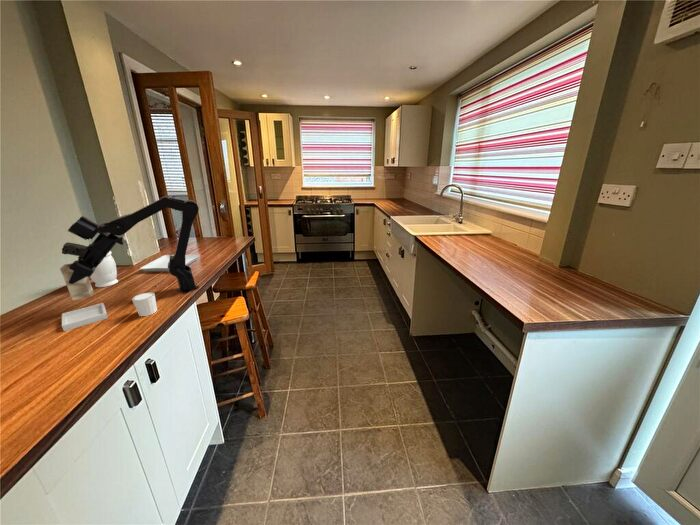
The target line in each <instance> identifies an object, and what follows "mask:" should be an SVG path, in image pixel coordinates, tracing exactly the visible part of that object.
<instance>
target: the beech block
mask: <svg viewBox="0 0 700 525" xmlns="http://www.w3.org/2000/svg"><path fill="white" fill-rule="evenodd" d="M72 263H73V262H72ZM72 263H65V264H63V265H62V266H61V267H60V268H59V269H60V272H61V274H62V276H63V280H64V282H65V285H66V288H67V289H68V292H69V295H70V297H71V299H72V301H75V300H82V299H86V298H91V297H92V296H93V294H94V290H93V287H92V284H91V281H90V277H85V278H83V279H81V280H79V281H77V282H75V283H73V284H70V283H69V280H70V278H71V276H72V274H73V272H74V271H73V270H71V269H69V267H70V266H71V264H72Z"/></svg>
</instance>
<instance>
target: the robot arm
mask: <svg viewBox="0 0 700 525" xmlns="http://www.w3.org/2000/svg"><path fill="white" fill-rule="evenodd" d="M167 208H168V209H171V210H176V211H178V212H181V223H180V230H179V234H178V237H177V238H178V240H177V244H176V249H175V253H174V254H173V255H174V256H171V255H172V254H169V255H170V261H169V263H168V268H169V271H168V272H169V274H170V275H171V276H173V277H175V278H176V279H177V283H178V287H179V288H177V289H176V292H179V293H183V294H188V293H190V292H192V291H194V290H196V289H198V288H200V287H199V285H196V283H195V278H194V275H193V271H192V267H190V265H188V266H187V265H185V255H187V254H186V253H187V250H188V245H189V241H190V236H191V235H190V234H191V231H192V226H193V224H194V222H195V219H197V216H198V213H199V205H198V204H197V202H196V201H195V200H194V199H193V200H192V199H186V200H183V199H178V198H175V197H174V198H173V197H169V196H162V197H160V198H159V199H157V200H155V201H154V202H151V203H150V204H147V205H146V206H143V207H142V208H140V209H138V210H136V211H134V212H131V213H127V214H125V215H121V216H118V217H115V218H113V219H111V221H109V222H104V223H100V224H98V223H96V222H94V221H92V220H90V219H89V218H87V217H86V216H84V215H81V216H80V217H79V218H78V219H77V220H76V221H75V222H74V223H72V225H71V226H70V227H69V228H68V229H67V232H69V233H71V234H73V235H75V236H78V237H79V238H81V239H83V240H85V241H87V240H88V241H89V240H93V239H94V240H93V241H92V242H91V243H89V244H88V245H87V246H86V245H84V244H80V243H79V244H78V243H74V242H65V243H63V246H62V248H61V254H62V255H71V256H77V260H74V261H73V262H72V264H71V263H70V264H71V266H70V267H69V269H71V270H73V271H74V272H73V274H72V276H71V278H70V280H69V283H70V284H73V283H75V282H77V281H79V280H81V279H83V278H85V277H88V278H90V276H91V275H92V274H93V272H94V271H95V268H96V267H97V266H98V265H99V264H100V263H101V262H102V260H103V259H104V257H105V256H106V255H107V254H108V253H109V251H111V250H112V249H113V248H114V247H115V246H116V245H117V244H119V245H120V246H123V245H124V244H125V241H124V235H125V234H126V233H127V232H129V231H130V230H131V229H132V228H133V227H135V226H136V225H138V224H139V223H140V222H143V221H144V220H146V219H147V218H149V217H152V216H153V215H155V214H157V213H159V212H161V211H163V210H165V209H167ZM96 235H97V237H96ZM122 235H123V236H122ZM95 237H96V238H95Z"/></svg>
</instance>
